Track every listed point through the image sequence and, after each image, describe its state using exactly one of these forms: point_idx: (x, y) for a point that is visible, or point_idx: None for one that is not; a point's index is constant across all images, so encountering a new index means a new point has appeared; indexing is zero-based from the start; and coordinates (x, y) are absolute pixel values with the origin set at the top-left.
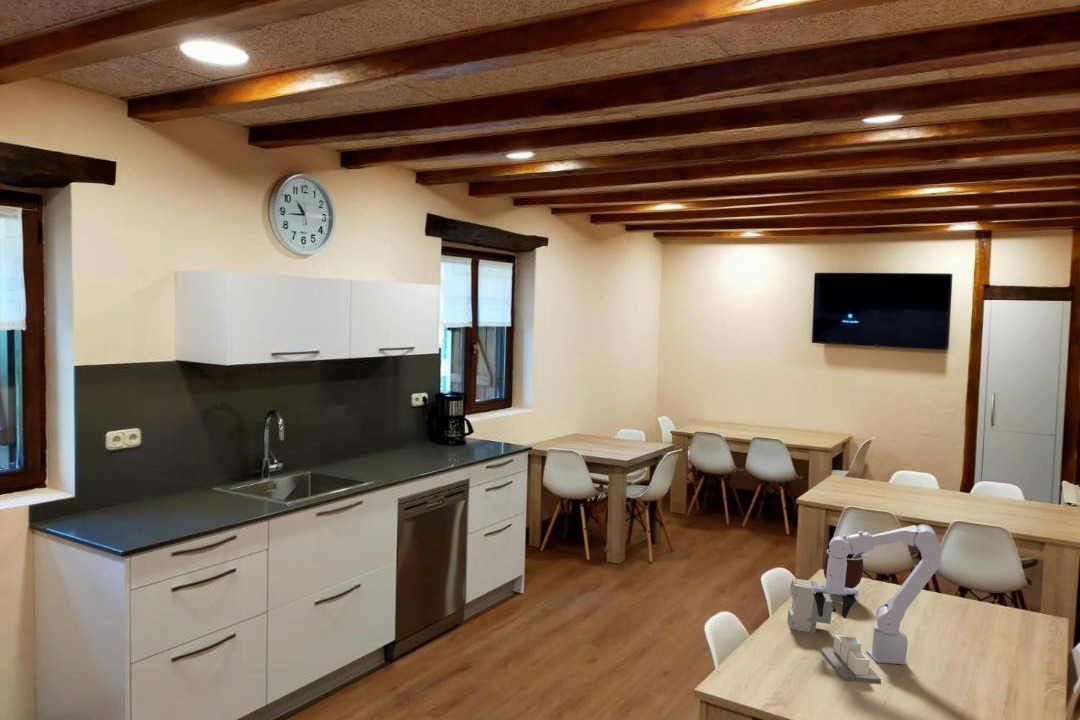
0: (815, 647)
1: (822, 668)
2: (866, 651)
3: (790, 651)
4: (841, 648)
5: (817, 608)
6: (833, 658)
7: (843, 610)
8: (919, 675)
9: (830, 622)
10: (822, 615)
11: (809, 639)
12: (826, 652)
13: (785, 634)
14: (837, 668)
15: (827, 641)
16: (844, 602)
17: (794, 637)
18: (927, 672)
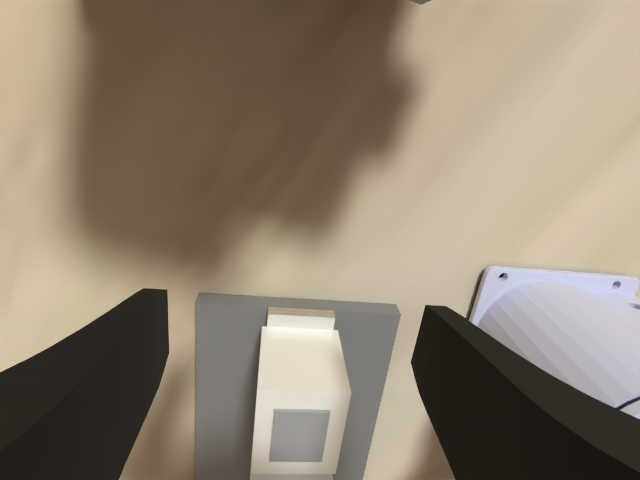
0: (191, 232)
1: (140, 443)
2: (483, 273)
3: (4, 294)
4: (251, 458)
5: (101, 320)
6: (223, 396)
7: (450, 377)
8: None
9: (425, 2)
10: (164, 367)
11: (195, 110)
12: (212, 338)
13: (16, 19)
14: (198, 476)
15: (318, 137)
16: (511, 475)
17: (83, 78)
18: None
